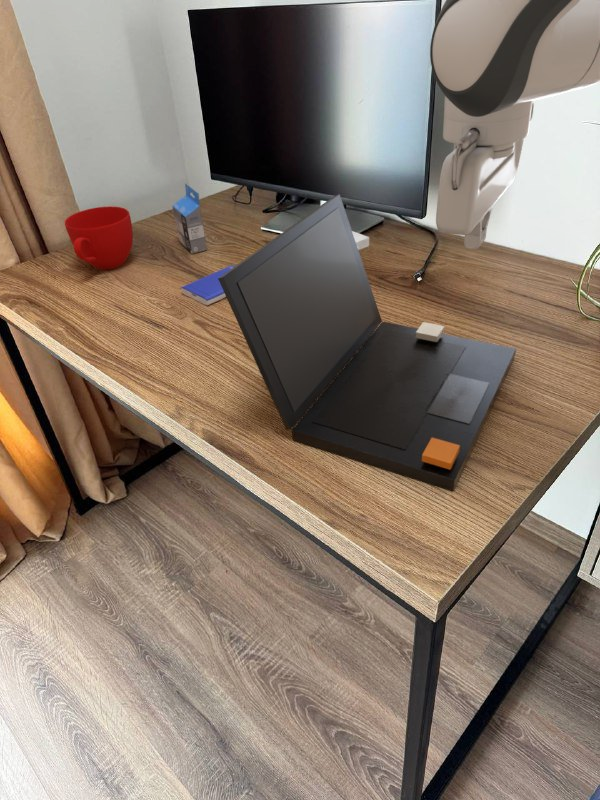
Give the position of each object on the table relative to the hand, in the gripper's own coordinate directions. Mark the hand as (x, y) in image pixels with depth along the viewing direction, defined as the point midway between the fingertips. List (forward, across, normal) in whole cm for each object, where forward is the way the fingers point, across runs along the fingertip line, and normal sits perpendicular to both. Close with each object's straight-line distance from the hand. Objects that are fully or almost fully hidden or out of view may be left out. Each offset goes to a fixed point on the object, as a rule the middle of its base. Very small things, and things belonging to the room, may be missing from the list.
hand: (474, 244), depth 70 cm
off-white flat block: (+19, +8, +8) cm, 22 cm away
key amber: (+19, -18, -3) cm, 26 cm away
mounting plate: (+20, +37, +41) cm, 59 cm away
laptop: (+21, -5, +5) cm, 22 cm away
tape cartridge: (+19, +27, +69) cm, 76 cm away
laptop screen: (+9, -5, +19) cm, 22 cm away
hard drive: (+19, +12, +51) cm, 56 cm away
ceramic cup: (+18, +11, +80) cm, 82 cm away
